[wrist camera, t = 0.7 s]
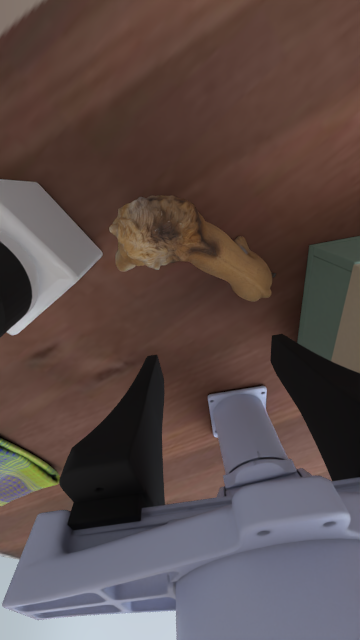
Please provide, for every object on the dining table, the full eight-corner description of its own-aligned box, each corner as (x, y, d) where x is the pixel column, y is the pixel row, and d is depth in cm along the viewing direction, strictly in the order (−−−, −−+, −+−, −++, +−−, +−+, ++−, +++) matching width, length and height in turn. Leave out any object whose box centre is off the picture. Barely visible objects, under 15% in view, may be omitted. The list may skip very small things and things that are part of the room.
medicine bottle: (36, 179, 17) (-162, 159, 7) (105, 253, 20) (41, 317, 10) (-16, 238, 19) (-234, 294, 9) (54, 298, 22) (-44, 391, 12)
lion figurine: (121, 244, 20) (92, 277, 12) (137, 178, 17) (114, 167, 10) (259, 295, 23) (307, 347, 15) (289, 246, 21) (363, 278, 13)
